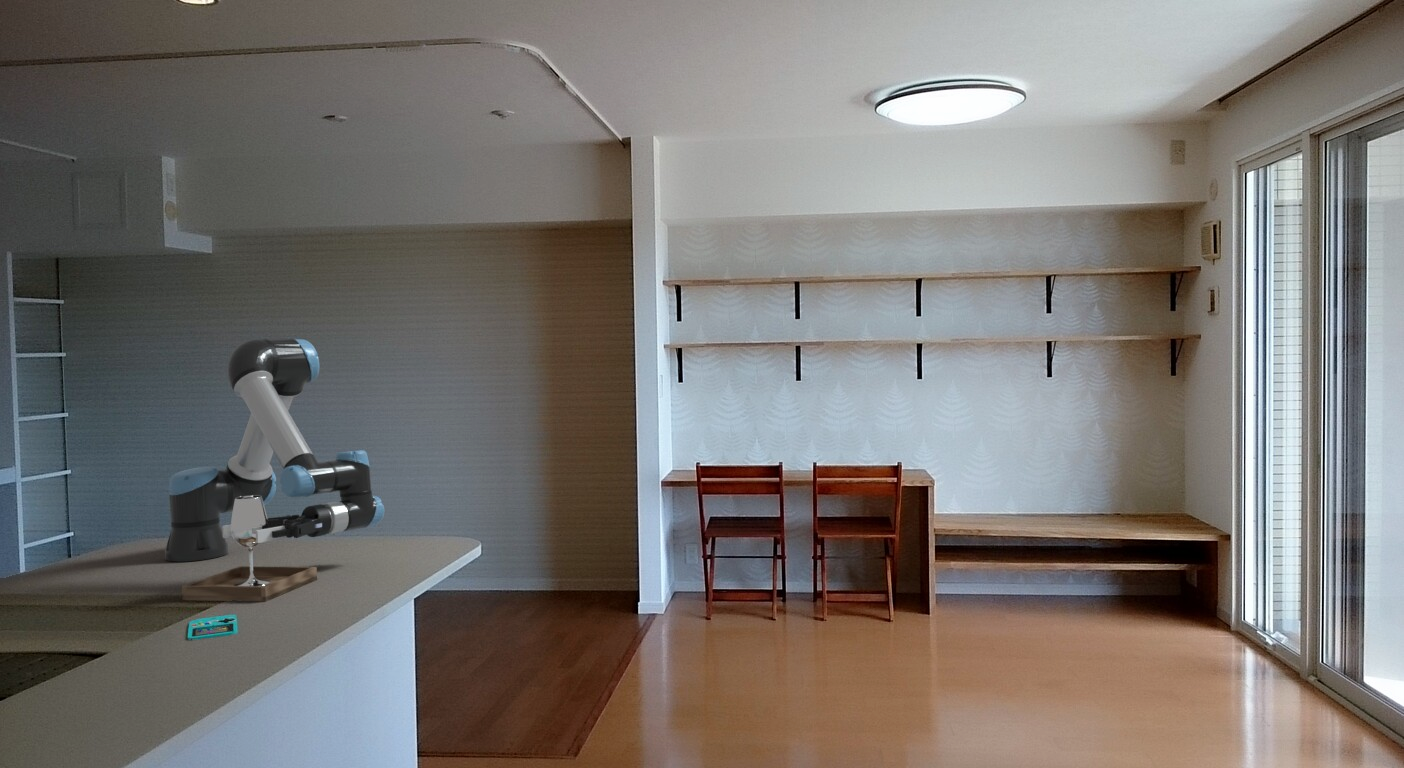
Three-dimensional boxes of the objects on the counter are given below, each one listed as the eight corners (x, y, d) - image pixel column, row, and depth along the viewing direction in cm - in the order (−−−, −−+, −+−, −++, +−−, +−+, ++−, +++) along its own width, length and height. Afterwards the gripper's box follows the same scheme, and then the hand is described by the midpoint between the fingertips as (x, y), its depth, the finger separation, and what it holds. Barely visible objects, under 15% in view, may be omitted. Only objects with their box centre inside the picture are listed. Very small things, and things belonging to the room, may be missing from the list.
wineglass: (256, 589, 217) (252, 499, 217) (225, 588, 219) (221, 499, 218) (278, 581, 225) (274, 494, 224) (248, 580, 226) (244, 494, 226)
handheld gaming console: (236, 612, 199) (237, 630, 185) (236, 617, 199) (237, 636, 185) (189, 618, 195) (187, 637, 182) (189, 623, 195) (187, 643, 182)
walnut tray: (240, 578, 233) (239, 566, 233) (317, 579, 230) (316, 567, 230) (182, 600, 214) (181, 586, 213) (265, 601, 210) (265, 587, 210)
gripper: (356, 539, 230) (272, 556, 212) (294, 530, 244) (210, 546, 227) (355, 507, 230) (270, 521, 212) (293, 500, 244) (209, 513, 226)
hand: (239, 534), depth 219 cm, fingers open, 13 cm apart
